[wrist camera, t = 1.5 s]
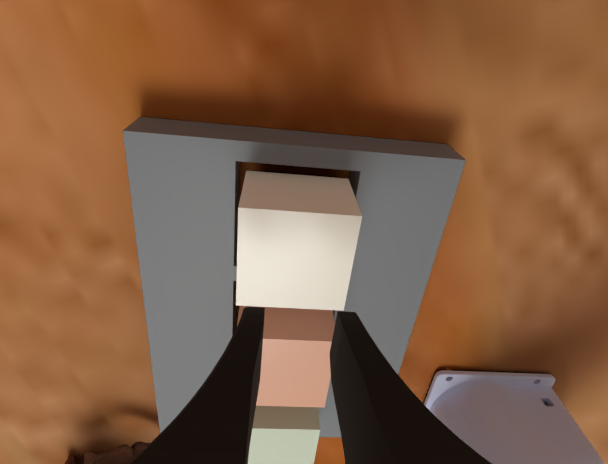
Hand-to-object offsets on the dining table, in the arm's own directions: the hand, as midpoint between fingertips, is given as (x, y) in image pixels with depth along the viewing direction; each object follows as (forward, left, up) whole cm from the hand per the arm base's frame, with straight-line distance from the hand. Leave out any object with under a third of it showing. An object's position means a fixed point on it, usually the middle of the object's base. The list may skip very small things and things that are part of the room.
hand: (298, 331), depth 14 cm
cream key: (0, 0, -8) cm, 8 cm away
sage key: (0, +14, -8) cm, 16 cm away
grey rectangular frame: (0, +7, -10) cm, 13 cm away
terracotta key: (0, +7, -8) cm, 11 cm away
